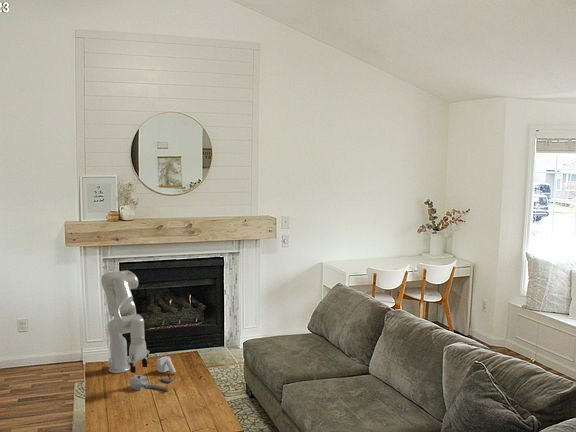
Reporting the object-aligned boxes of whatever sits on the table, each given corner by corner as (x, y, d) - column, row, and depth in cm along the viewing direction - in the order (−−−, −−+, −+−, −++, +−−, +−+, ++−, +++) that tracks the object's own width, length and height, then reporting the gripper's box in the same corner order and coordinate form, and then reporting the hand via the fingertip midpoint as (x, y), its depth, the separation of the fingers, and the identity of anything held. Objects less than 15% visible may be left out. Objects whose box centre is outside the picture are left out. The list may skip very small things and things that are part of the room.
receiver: (145, 387, 319) (145, 382, 319) (161, 379, 332) (161, 373, 331) (166, 392, 313) (166, 386, 312) (182, 383, 325) (182, 377, 325)
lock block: (131, 388, 319) (130, 377, 318) (137, 384, 324) (137, 373, 323) (140, 390, 316) (140, 379, 315) (147, 386, 321) (147, 375, 320)
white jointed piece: (170, 376, 335) (167, 359, 335) (159, 376, 341) (156, 359, 341) (180, 371, 341) (177, 355, 341) (169, 372, 347) (166, 355, 348)
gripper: (142, 334, 326) (144, 363, 328) (121, 343, 311) (123, 373, 312) (153, 336, 323) (154, 365, 324) (132, 345, 307) (133, 375, 309)
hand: (139, 369), depth 318 cm, fingers open, 9 cm apart
